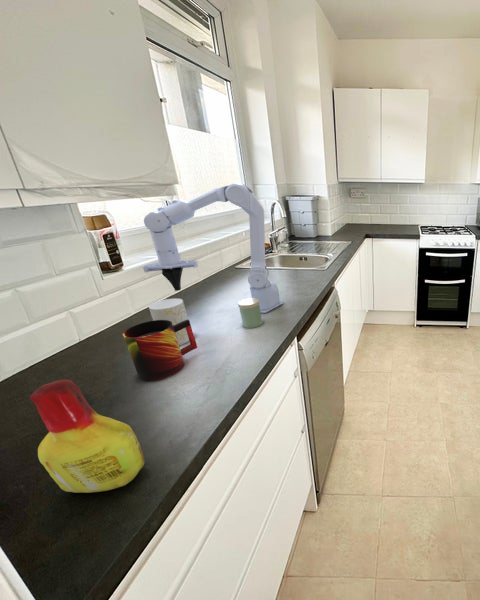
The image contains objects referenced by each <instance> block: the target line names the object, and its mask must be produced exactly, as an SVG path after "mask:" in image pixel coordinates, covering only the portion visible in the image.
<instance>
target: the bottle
mask: <svg viewBox="0 0 480 600" xmlns="http://www.w3.org/2000/svg"><path fill="white" fill-rule="evenodd" d="M29 400H30V401H31V402H32V403H34V405H35V406H36V408H37V409H36V410H37V412H38V414H39V416H40V418H41V420H42V422H43V423H44V424H45V427H46V429H47V431H48V433H47V434H46V435H45V436H44V438H43V439H42V440H41V442H40V443H39V445H38V447H37V458H38V460H39V463H40V464H41V465H42V466H43V467H44V468H45V469H44V470H46V472H48V474H49V476H50V477H51V478H52V480H53V481H54V482H55V484H56V485H58V487H59V488H60V489H61V490H62V491H64V492H66V493H76V494H81V493H85V494H89V493H100V492H107V491H112V490H115V489H118V488H121V487H125V486H126V485H127V484H129V483H130V482H132V481H133V480H134V479H135V478H136V477H137V475H138V474H139V472H140V471H141V470H142V468H143V467H144V465H145V455H144V452H143V451H142V447H141V443H140V441H139V440H138V438H137V434H136V433H135V432H134V431H133V429H132V427H131V426H130V425H129V424H127V423H125V422H122V421H119V420H117V419H114V418H111V417H108V416H104V415H101V414H98V413H97V411H95V410H94V409H93V408H92V407H91V406H90V404H89V403H88V401H87V399H86V397H85V396H84V395H83V393H82V390H81V389H80V387H79V386H78V385H77V384H75V383H74V381H72V380H71V379H59V380H54V381H51V382H48V383H45V384H43V385H40V386H39V387H38V388H36V389H35V390H34V391H33V393H31V396H30V398H29Z"/></svg>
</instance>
